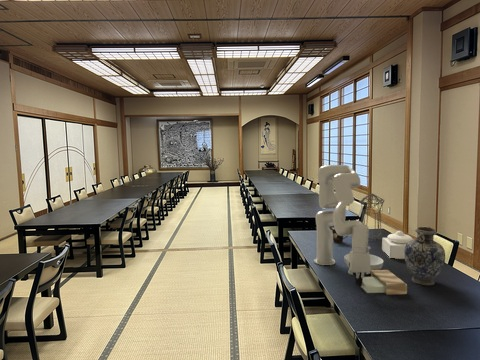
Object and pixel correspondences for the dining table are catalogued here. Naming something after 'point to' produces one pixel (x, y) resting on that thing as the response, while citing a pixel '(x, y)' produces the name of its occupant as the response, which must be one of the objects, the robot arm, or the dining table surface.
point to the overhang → (390, 282)
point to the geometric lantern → (373, 213)
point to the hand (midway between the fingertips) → (358, 285)
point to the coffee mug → (337, 236)
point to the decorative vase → (424, 257)
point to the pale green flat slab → (373, 285)
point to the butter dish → (395, 244)
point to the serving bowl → (374, 261)
